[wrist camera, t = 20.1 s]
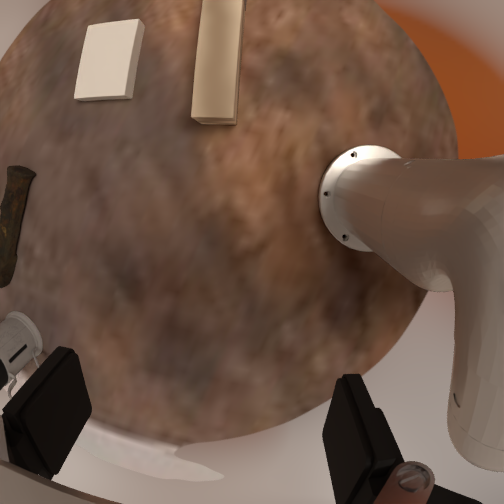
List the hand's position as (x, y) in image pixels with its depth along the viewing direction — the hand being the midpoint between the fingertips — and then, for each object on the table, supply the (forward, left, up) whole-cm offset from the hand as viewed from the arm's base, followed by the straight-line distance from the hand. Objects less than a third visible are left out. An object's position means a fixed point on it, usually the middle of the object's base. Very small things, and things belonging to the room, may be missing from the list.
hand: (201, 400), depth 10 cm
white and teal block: (+17, -16, -27) cm, 36 cm away
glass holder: (+33, +20, -28) cm, 48 cm away
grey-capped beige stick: (+3, -21, -28) cm, 35 cm away
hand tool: (+32, +2, -29) cm, 43 cm away
